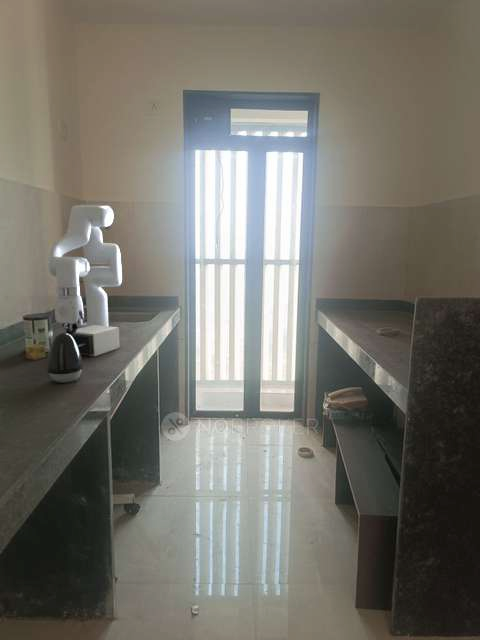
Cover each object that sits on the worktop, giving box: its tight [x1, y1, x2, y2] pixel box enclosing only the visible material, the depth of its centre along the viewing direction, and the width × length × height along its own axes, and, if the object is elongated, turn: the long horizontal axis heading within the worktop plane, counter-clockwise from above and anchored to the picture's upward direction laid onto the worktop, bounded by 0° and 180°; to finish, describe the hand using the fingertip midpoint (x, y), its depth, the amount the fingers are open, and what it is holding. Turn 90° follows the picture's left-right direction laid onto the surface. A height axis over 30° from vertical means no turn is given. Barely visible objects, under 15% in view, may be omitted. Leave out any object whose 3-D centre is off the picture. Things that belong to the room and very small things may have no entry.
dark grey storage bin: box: [75, 334, 93, 356], centre depth 161 cm, size 19×11×7 cm, turn 157°
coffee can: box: [22, 312, 54, 353], centre depth 165 cm, size 10×10×14 cm
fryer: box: [76, 325, 121, 357], centre depth 166 cm, size 15×13×9 cm
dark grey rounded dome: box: [46, 332, 84, 384], centre depth 129 cm, size 10×10×15 cm
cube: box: [25, 344, 46, 361], centre depth 155 cm, size 4×4×4 cm
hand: (71, 340), depth 155 cm, fingers closed
